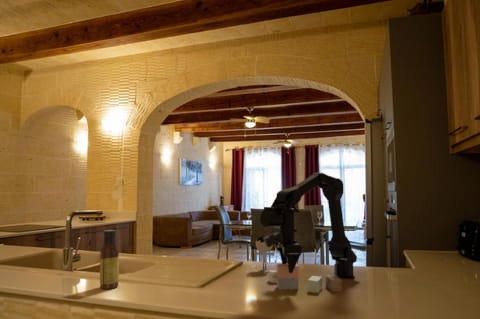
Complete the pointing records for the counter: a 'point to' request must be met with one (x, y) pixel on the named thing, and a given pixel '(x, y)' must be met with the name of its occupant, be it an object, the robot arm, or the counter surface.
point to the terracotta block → (286, 271)
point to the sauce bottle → (109, 261)
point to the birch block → (273, 276)
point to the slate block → (287, 283)
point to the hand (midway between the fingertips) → (287, 270)
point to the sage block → (314, 284)
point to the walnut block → (333, 283)
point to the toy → (263, 249)
